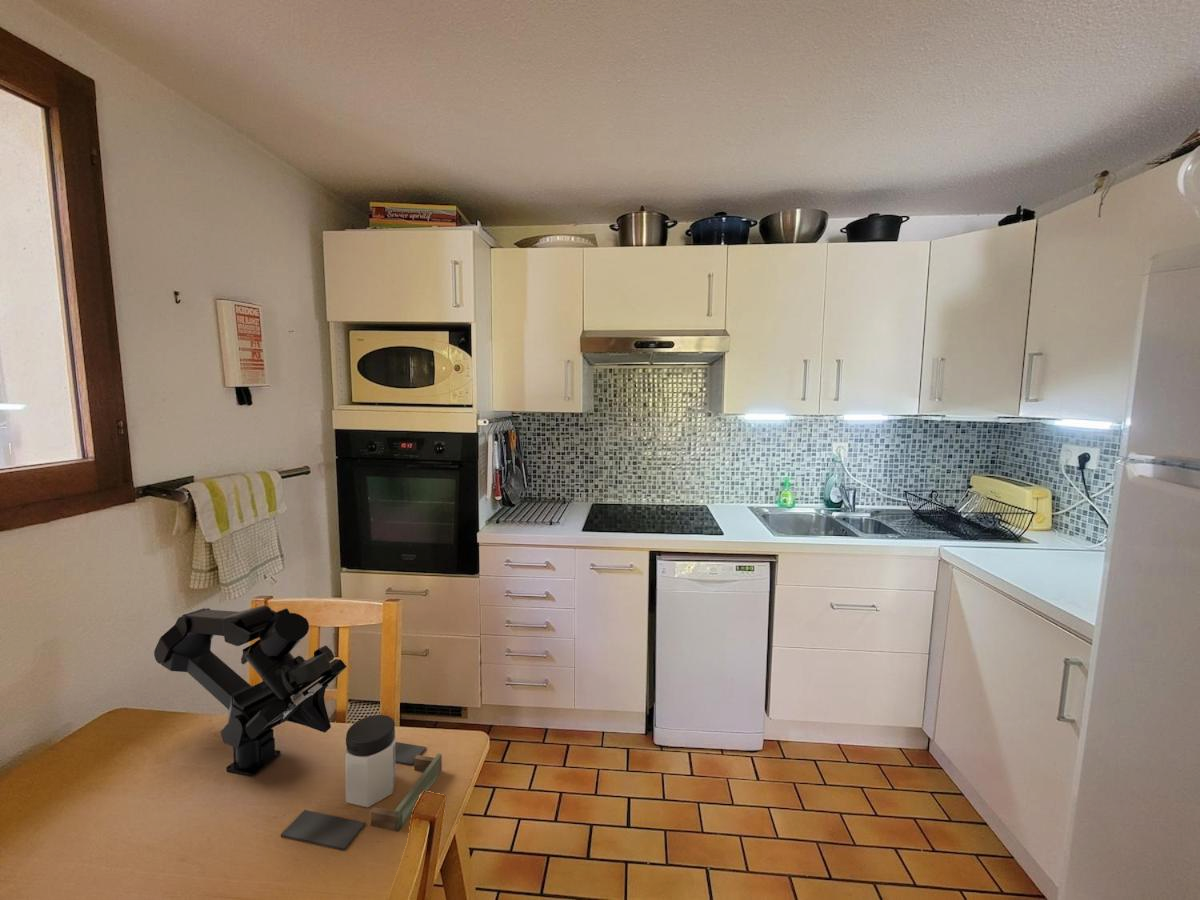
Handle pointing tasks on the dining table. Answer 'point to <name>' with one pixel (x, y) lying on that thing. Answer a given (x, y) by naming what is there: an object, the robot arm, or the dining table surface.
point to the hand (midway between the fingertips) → (328, 730)
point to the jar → (370, 760)
